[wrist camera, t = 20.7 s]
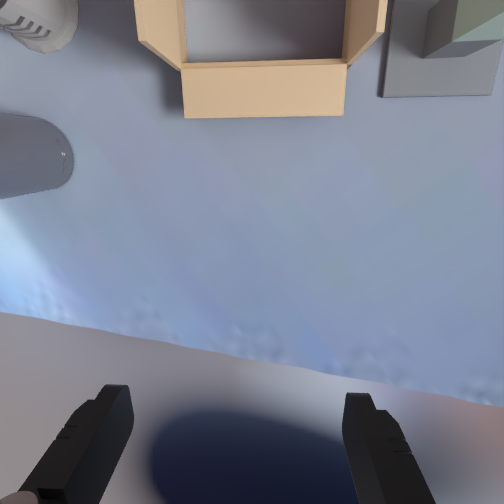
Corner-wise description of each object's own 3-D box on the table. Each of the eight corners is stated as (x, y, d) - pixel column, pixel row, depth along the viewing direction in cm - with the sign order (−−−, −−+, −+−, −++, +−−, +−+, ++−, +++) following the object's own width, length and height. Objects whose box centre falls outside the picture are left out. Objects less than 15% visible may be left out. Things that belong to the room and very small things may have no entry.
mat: (381, 97, 36) (383, 97, 35) (396, -30, 32) (398, -33, 31) (488, 95, 35) (491, 94, 35) (517, -36, 31) (521, -39, 31)
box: (422, 58, 34) (540, -10, 19) (428, 10, 32) (562, -106, 17) (464, 56, 34) (619, -15, 18) (473, 7, 32) (649, -114, 17)
